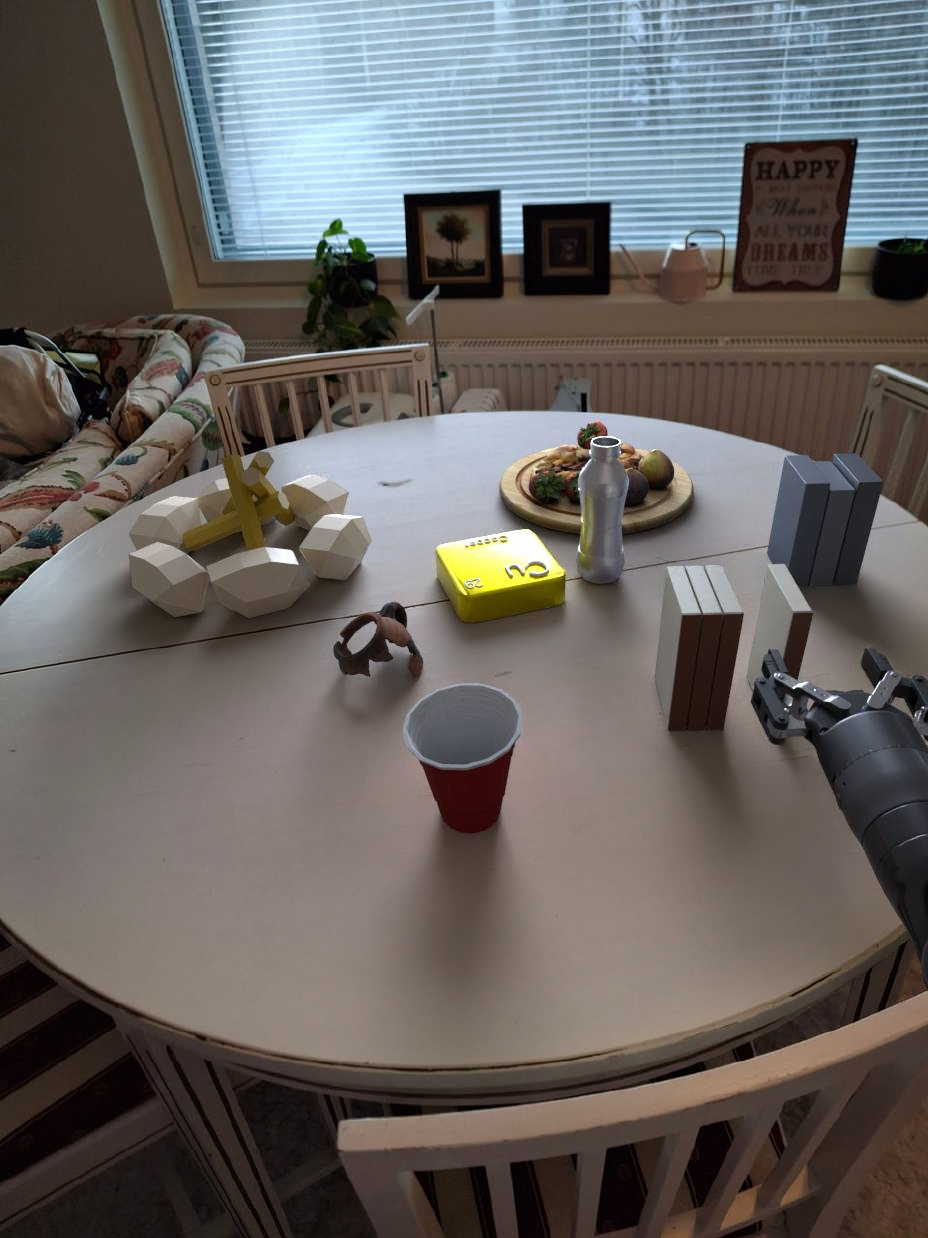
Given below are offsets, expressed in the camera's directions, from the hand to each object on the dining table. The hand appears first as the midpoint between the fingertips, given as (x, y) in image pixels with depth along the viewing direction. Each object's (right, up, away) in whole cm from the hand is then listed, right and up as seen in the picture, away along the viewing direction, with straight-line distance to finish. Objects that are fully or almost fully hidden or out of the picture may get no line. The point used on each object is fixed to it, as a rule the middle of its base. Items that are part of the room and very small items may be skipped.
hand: (818, 655), depth 73 cm
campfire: (-64, +12, +48) cm, 81 cm away
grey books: (+16, +10, +38) cm, 43 cm away
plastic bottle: (-13, +9, +39) cm, 42 cm away
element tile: (-27, +8, +38) cm, 48 cm away
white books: (-7, -6, +16) cm, 19 cm away
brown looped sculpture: (-42, -2, +25) cm, 49 cm away
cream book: (+1, -6, +16) cm, 17 cm away
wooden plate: (-10, +24, +61) cm, 67 cm away
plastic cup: (-32, -16, +5) cm, 36 cm away
